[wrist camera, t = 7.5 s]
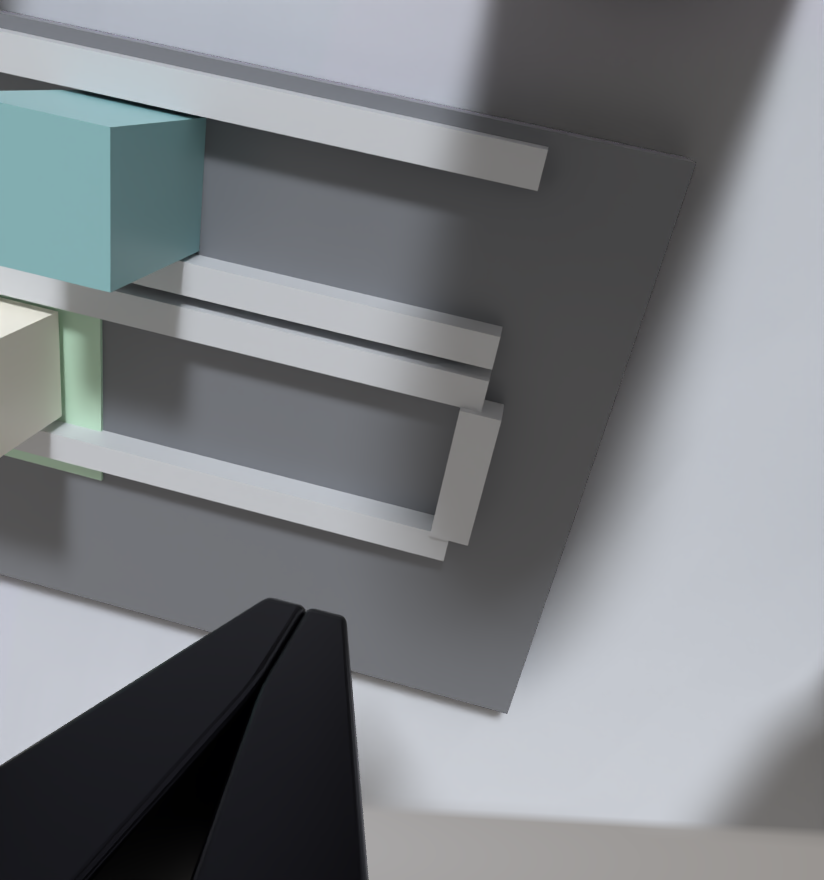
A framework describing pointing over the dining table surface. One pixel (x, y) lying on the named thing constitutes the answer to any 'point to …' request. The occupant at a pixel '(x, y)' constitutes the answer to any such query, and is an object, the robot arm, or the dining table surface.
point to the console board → (313, 345)
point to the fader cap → (27, 371)
